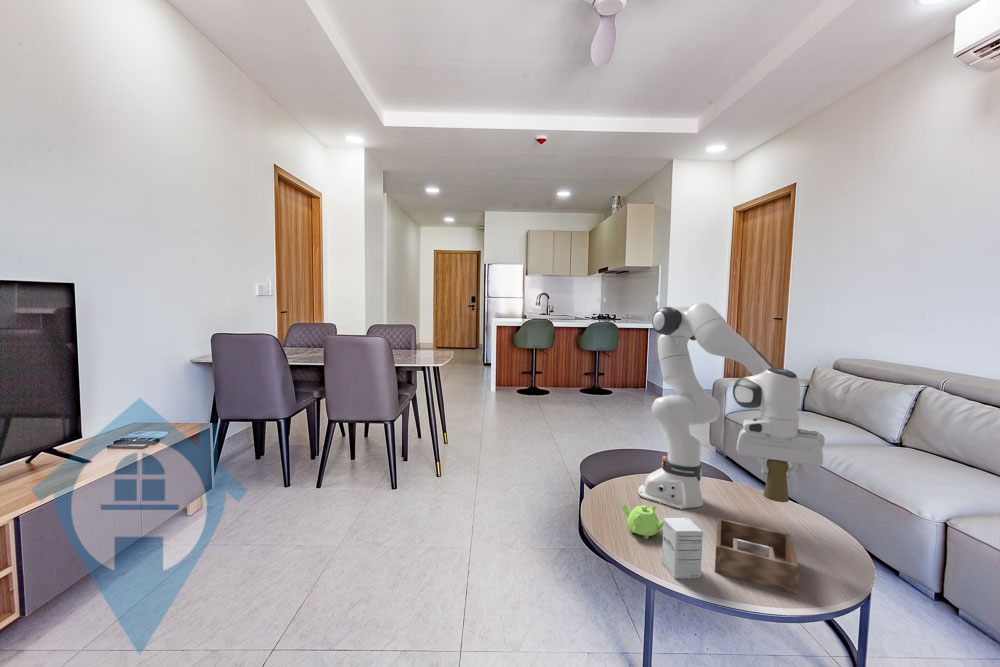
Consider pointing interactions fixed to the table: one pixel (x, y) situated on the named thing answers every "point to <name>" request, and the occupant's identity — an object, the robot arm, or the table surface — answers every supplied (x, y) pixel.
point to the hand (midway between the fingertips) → (776, 475)
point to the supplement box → (682, 547)
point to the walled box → (756, 555)
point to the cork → (776, 481)
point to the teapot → (643, 520)
